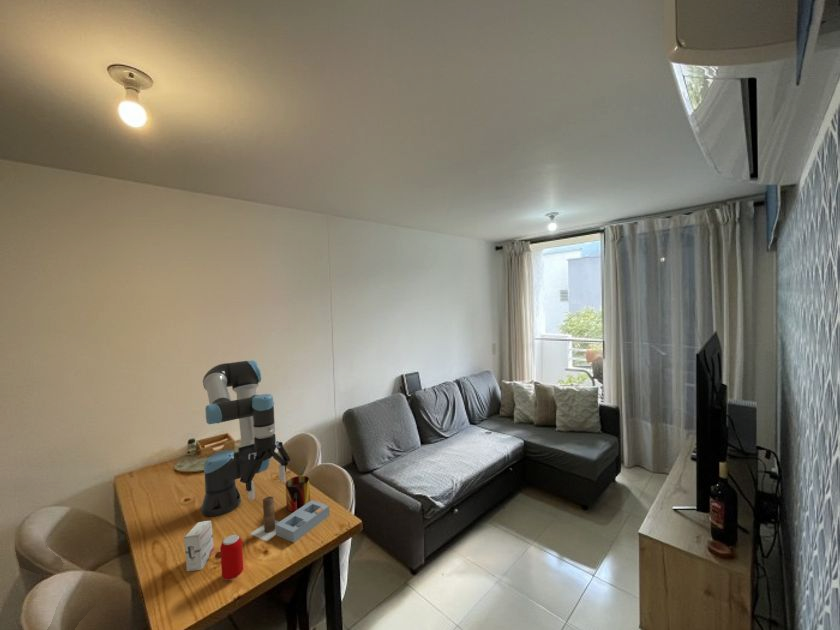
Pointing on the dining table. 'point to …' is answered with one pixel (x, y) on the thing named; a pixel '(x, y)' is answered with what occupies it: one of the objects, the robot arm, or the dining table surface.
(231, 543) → the beverage can
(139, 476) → the dining table surface
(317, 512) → the socket block
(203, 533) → the ink box
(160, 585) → the dining table surface
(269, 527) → the plug
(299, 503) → the mug
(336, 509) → the dining table surface
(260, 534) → the white flat square
